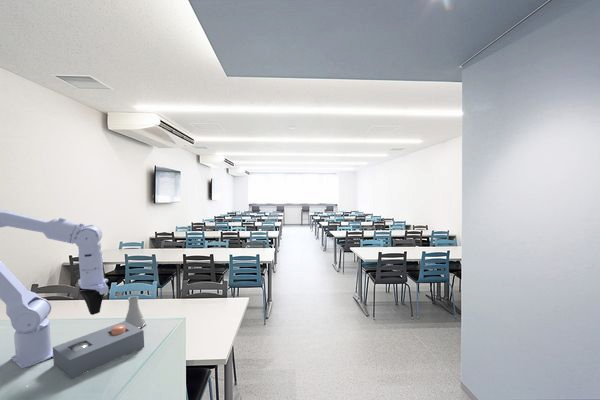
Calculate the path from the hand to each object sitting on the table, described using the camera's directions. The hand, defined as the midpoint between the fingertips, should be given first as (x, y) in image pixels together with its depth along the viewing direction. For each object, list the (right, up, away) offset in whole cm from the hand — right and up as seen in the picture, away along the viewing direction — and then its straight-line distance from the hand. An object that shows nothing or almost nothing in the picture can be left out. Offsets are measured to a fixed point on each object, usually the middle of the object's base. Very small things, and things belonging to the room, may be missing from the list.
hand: (94, 313), depth 97 cm
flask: (+4, -10, +14) cm, 18 cm away
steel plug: (+1, -11, -8) cm, 13 cm away
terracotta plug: (+7, -9, 0) cm, 11 cm away
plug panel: (+4, -11, -4) cm, 12 cm away
